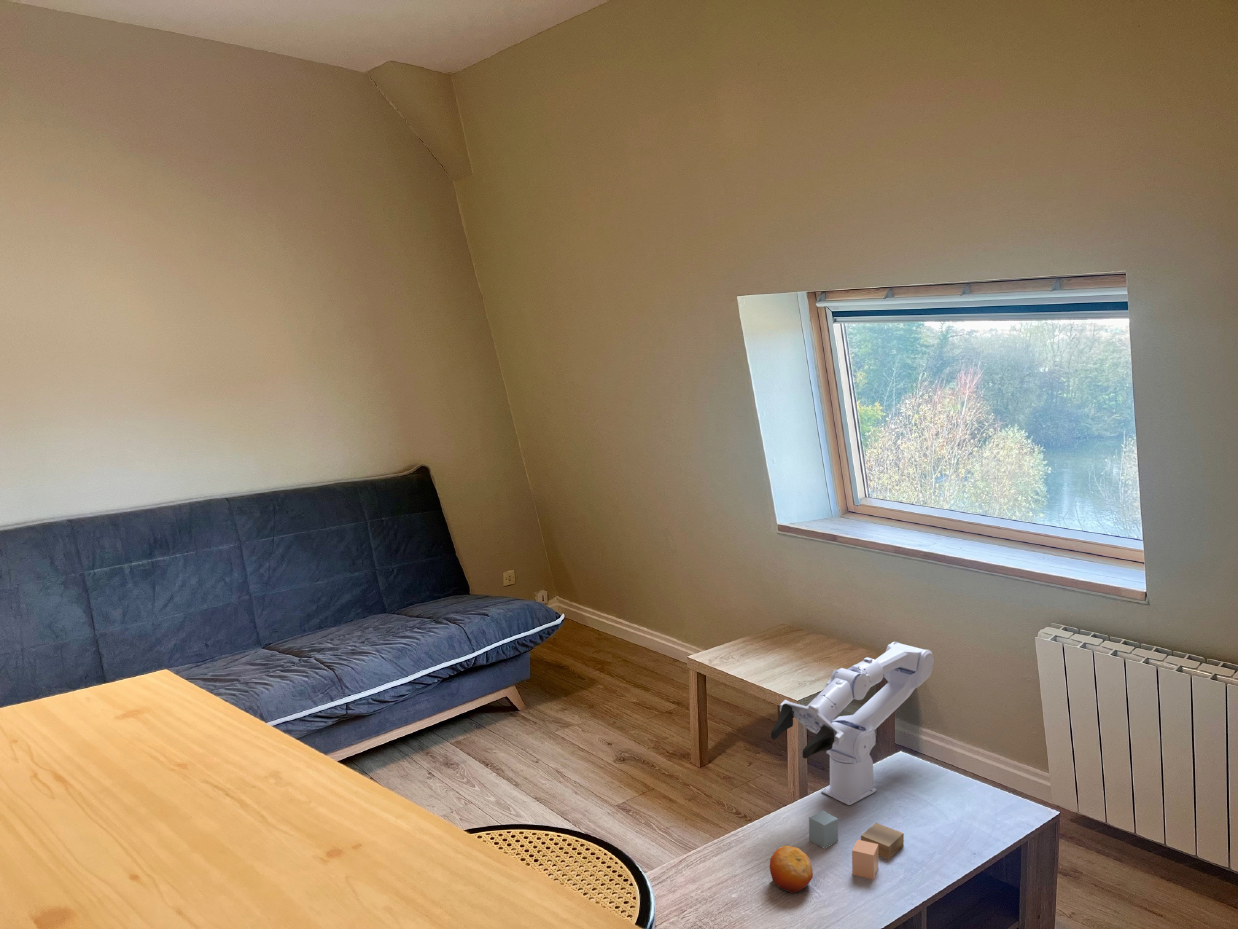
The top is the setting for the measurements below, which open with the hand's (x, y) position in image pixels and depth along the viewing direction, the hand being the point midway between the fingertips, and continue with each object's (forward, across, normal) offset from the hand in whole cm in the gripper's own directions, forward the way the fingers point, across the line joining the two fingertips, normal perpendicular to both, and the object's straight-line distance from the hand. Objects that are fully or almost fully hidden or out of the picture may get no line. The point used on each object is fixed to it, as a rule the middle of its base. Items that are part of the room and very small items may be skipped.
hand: (788, 745), depth 186 cm
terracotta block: (+7, +23, +12) cm, 27 cm away
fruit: (+20, +15, +11) cm, 27 cm away
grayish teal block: (+4, +12, +16) cm, 20 cm away
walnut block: (-2, +21, +16) cm, 27 cm away
